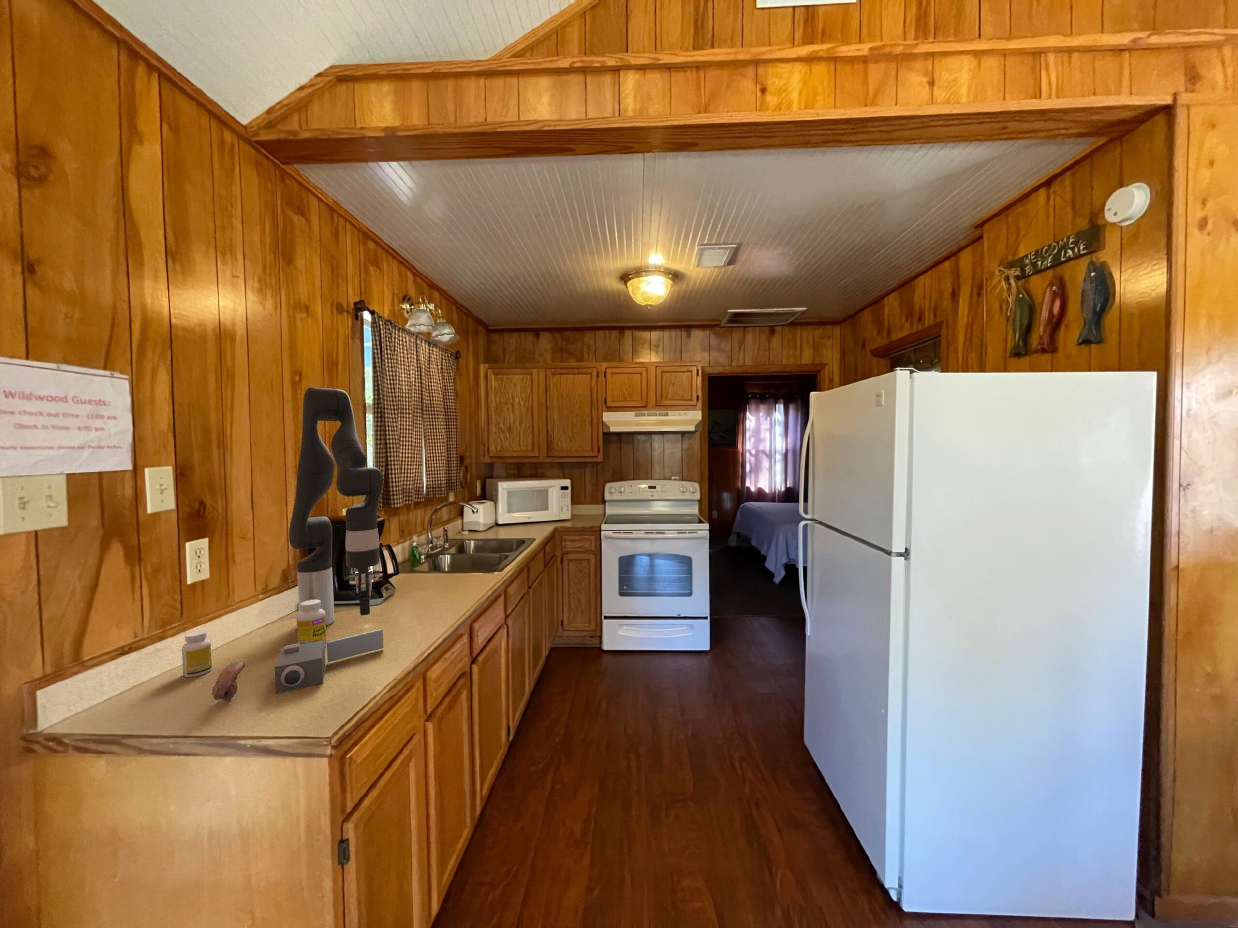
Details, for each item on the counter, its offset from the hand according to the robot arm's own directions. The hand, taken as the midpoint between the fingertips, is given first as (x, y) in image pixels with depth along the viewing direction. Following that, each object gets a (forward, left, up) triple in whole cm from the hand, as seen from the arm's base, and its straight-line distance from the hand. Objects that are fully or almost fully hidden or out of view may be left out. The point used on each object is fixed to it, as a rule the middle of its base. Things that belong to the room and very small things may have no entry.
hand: (365, 613), depth 126 cm
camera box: (+2, -14, -12) cm, 19 cm away
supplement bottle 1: (-15, -37, -12) cm, 42 cm away
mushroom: (+7, -27, -12) cm, 30 cm away
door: (-5, -2, -12) cm, 13 cm away
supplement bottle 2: (-17, -13, -12) cm, 24 cm away
